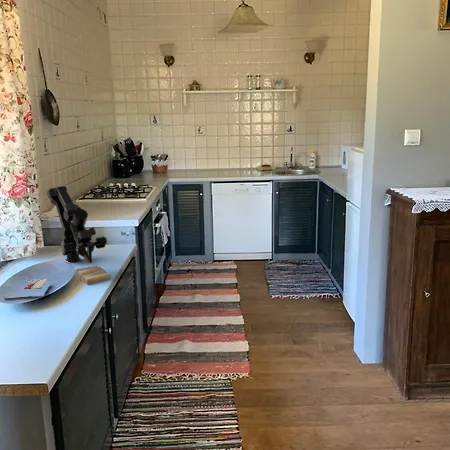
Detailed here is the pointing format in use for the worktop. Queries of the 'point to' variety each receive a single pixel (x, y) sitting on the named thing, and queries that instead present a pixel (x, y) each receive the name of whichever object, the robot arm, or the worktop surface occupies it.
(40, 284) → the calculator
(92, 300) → the worktop surface
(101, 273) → the birch tile
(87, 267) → the rubber mat
